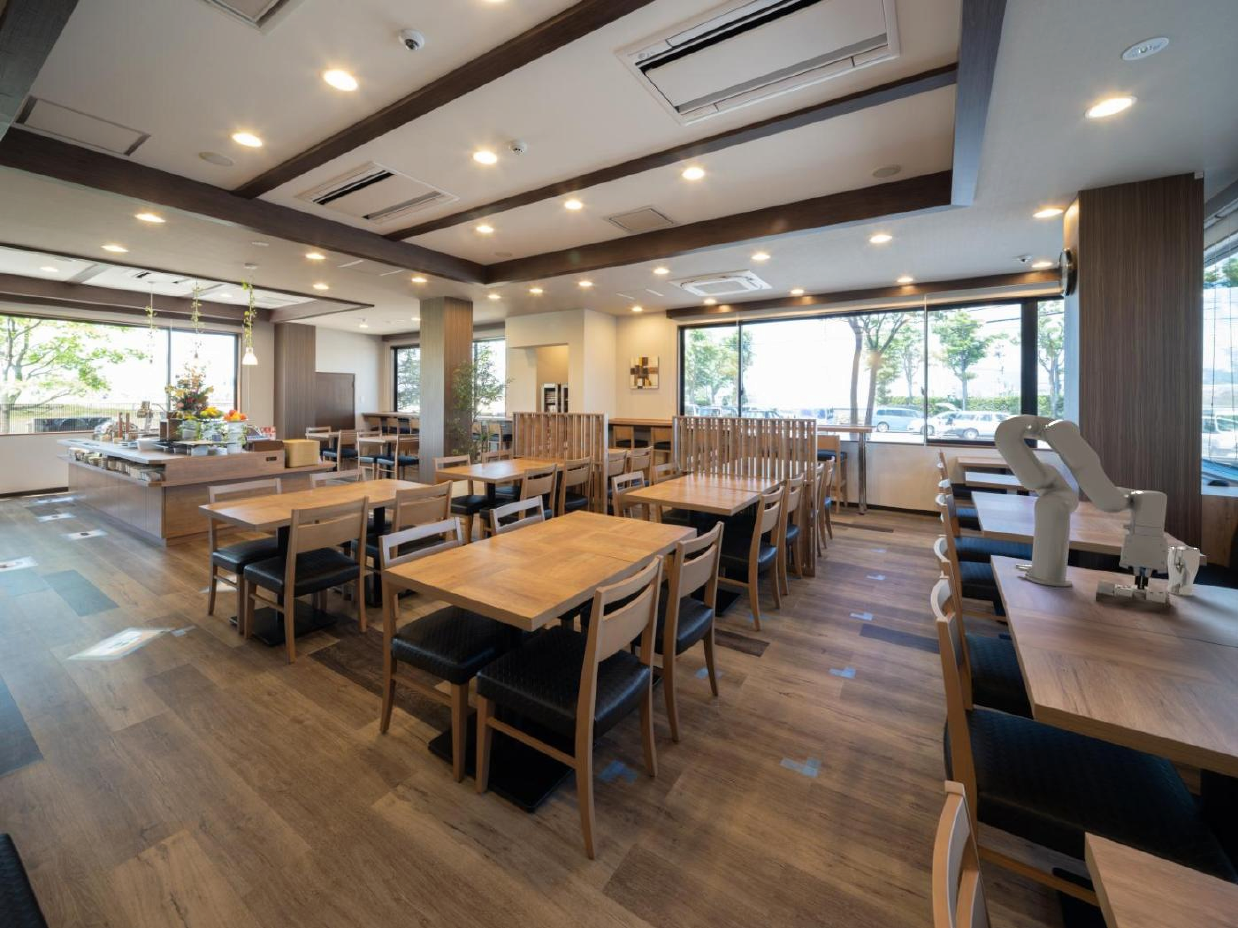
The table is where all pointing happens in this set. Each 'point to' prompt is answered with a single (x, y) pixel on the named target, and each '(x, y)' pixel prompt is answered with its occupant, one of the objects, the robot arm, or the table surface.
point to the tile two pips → (1156, 596)
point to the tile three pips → (1123, 590)
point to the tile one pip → (1139, 589)
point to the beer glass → (1182, 569)
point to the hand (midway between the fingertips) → (1140, 587)
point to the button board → (1130, 599)
